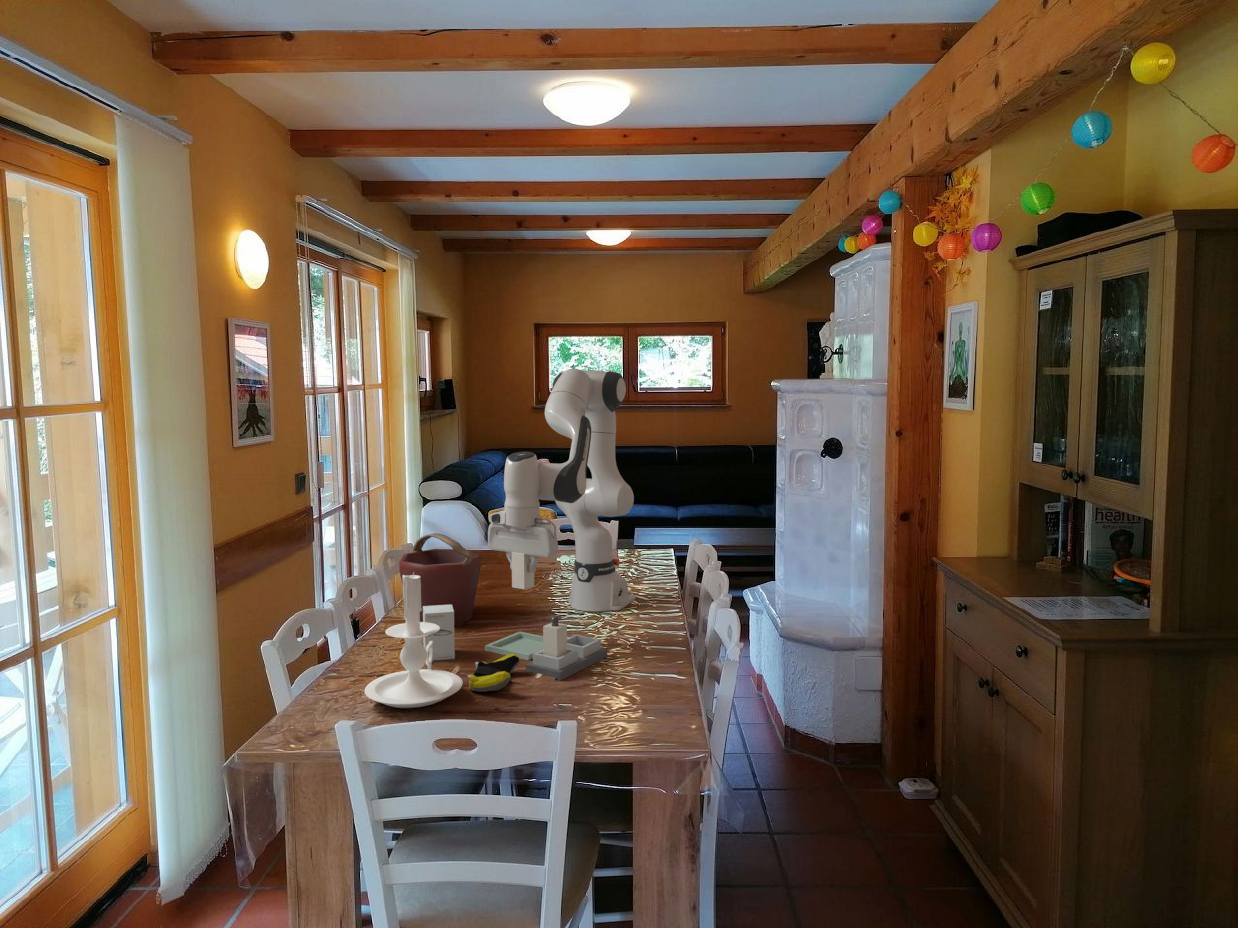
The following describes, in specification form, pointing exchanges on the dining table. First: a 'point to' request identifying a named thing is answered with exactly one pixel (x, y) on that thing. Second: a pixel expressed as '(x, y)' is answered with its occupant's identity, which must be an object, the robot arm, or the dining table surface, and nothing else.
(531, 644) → the tray
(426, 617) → the supplement box
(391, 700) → the candlestick
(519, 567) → the plug
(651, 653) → the dining table surface
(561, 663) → the grey socket base
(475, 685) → the yellow black curved piece
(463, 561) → the bucket
